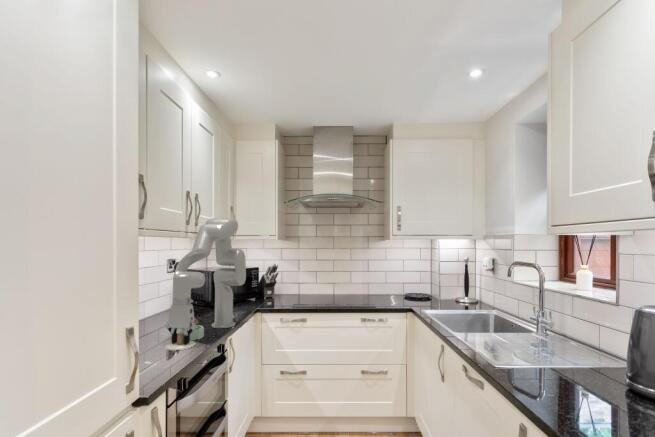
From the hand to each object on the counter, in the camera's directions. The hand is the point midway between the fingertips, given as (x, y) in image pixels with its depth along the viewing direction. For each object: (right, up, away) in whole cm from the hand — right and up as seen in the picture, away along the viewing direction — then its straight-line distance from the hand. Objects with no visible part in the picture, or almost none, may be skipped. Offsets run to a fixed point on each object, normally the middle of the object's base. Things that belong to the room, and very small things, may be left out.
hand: (180, 343), depth 158 cm
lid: (0, -1, 0) cm, 1 cm away
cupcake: (-7, -4, +27) cm, 29 cm away
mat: (0, -2, 0) cm, 2 cm away
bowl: (-1, -3, +14) cm, 15 cm away
